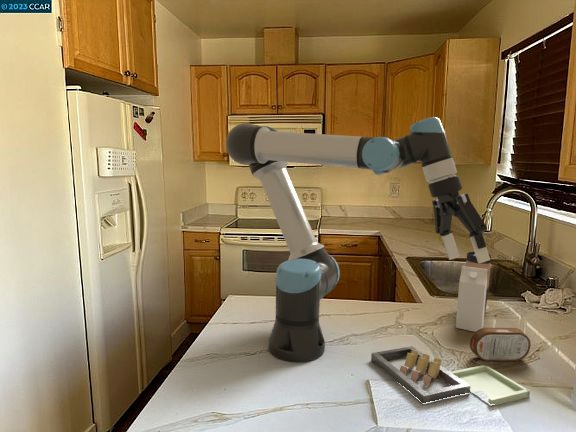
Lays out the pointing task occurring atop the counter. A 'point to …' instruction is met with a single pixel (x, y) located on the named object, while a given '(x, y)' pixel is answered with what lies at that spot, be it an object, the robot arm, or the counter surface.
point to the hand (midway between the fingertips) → (468, 259)
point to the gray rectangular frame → (423, 396)
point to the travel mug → (474, 263)
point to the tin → (500, 344)
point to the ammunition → (421, 366)
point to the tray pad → (492, 384)
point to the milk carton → (471, 298)
